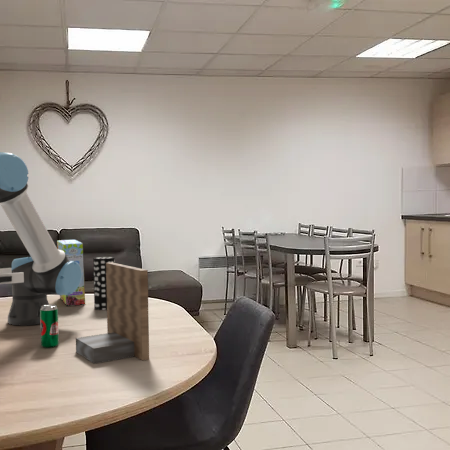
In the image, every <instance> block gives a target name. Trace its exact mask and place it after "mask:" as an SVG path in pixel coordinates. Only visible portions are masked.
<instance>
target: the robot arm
mask: <svg viewBox="0 0 450 450" xmlns="http://www.w3.org/2000/svg"><path fill="white" fill-rule="evenodd" d="M28 175H29V169H28V167H27V164H26V163H25V161H24V160H23V159H22V158H21V157H20V156H18V155H17V154H14V153H11V152H6V151H5V152H1V151H0V207H1V208H2V210H3V211H4V213H5V215H6V217H7V219H8V220H9V222H10V223H11V225H12V226H13V228H14V230H15V231H16V233H17V236H18V237H19V239H20V240H21V242H22V243H23V246H24V247H25V249H26V251H27V252H28V254H29V256H27V257H20V258H14V259H13V260H12V262H11V267H3V268H1V267H0V285H9V284H11V296H12V301H11V304H10V308H9V311H8V315H7V323H9V325H11V324H12V325H13V326H35V325H40V309H41V306H43V305H50V303H49V300H48V295H56V296H60V295H70V294H72V293H73V292H75V291H76V289H77V288H78V286H79V284H80V282H81V277H82V272H81V268H80V266H79V264H78V263H77V262H74V261H69V260H68V258H67V256H66V254H65V253H64V251H62V250H59V249H58V247H57V245H56V243H55V241H54V240H53V238H52V237H51V235H50V233H49V231H48V230H47V228H46V226H45V224H44V222H43V220H42V219H41V217H40V215H39V212H37V209H36V208H35V206H34V204H33V202H32V201H31V198H30V197H29V195H28V193H27V191H28V188H29V185H28V182H29V181H28V180H29V176H28Z"/></svg>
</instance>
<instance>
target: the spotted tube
mask: <svg viewBox="0 0 450 450" xmlns="http://www.w3.org/2000/svg"><path fill="white" fill-rule="evenodd" d="M115 258H116V257H114V256H97V257H93V263H92V265H93V299H94V302H93V303H94V307H93V308H94V309H95V310H98V311H105V310H106V311H107V286H106V263H111V262H113V263H116V261H115V260H116V259H115Z"/></svg>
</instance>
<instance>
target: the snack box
mask: <svg viewBox="0 0 450 450" xmlns="http://www.w3.org/2000/svg"><path fill="white" fill-rule="evenodd" d="M56 244H57V245H56V247H57V249H59V250H62V251H64V253H65V254H66V256H67V258H68V260H69V261H74V262H77V263H78V264H79V266H80V268H81V272H82V277H81V282H80V284H79V286H78V288H77V289H76V291H75V292H73V293H72V294H70V295H59V298H60V299H61V301H62V300H63V301H62V302H63V303H64V305H65V304H66V305H75V306H81V305H80V304H85V305H86V292H85V291H86V290H85V269H84V268H85V266H84V264H85V263H84V244H83V242H81V241H79V240H77V239H61V240H60V239H59V240H56ZM66 305H65V306H66Z"/></svg>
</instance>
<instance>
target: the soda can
mask: <svg viewBox="0 0 450 450" xmlns="http://www.w3.org/2000/svg"><path fill="white" fill-rule="evenodd" d="M39 325H40V326H39V327H40V328H39V329H40V346H41V347H42V348H45V349H51V348H52V349H53V348H56V347H58V345H59V344H60V342H59V341H60V337H59V335H60V334H59V333H60V331H59V330H60V329H59V308H58V307H57V304H50V303H49V305H43V306H41V309H40V324H39Z"/></svg>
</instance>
